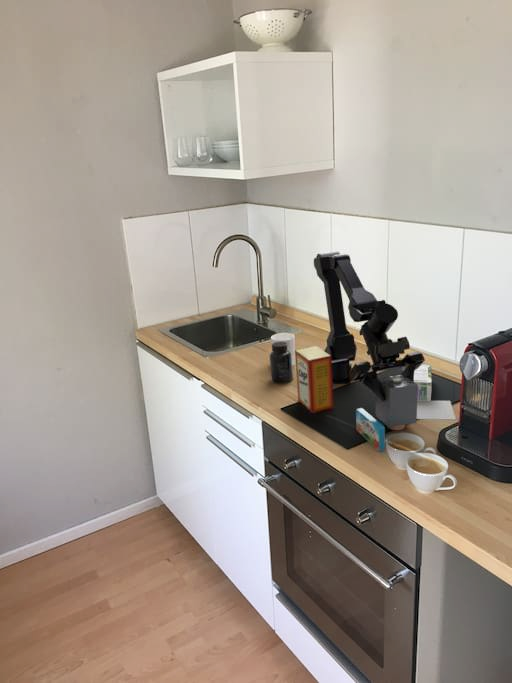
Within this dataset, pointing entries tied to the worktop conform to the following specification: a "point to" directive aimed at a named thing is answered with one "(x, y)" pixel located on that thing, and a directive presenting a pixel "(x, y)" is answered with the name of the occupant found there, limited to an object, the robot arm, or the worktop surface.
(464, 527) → the worktop surface
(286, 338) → the white cup
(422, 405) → the grey rubber mat
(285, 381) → the supplement bottle
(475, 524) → the worktop surface
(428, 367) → the syrup box
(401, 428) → the terracotta bowl
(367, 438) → the light blue carton
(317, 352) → the baking soda box
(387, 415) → the charcoal cover canister
